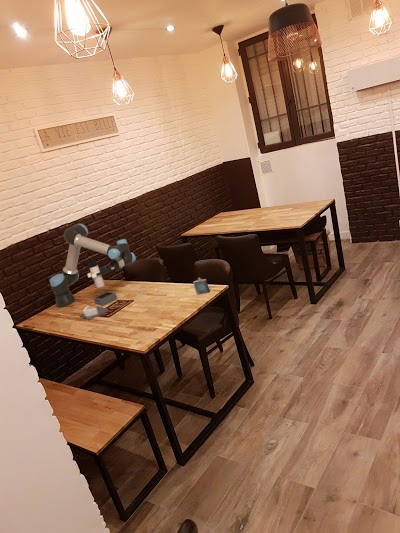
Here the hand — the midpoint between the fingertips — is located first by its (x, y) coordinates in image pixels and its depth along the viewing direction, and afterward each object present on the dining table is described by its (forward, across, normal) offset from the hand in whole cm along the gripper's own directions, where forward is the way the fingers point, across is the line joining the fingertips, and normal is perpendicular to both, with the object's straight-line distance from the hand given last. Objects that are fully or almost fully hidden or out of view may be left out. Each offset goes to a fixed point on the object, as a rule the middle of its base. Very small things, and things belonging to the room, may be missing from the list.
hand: (90, 276), depth 293 cm
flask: (-39, -74, -23) cm, 87 cm away
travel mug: (-5, 0, -11) cm, 12 cm away
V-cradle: (+11, -12, -23) cm, 28 cm away
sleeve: (-5, 0, -23) cm, 24 cm away
